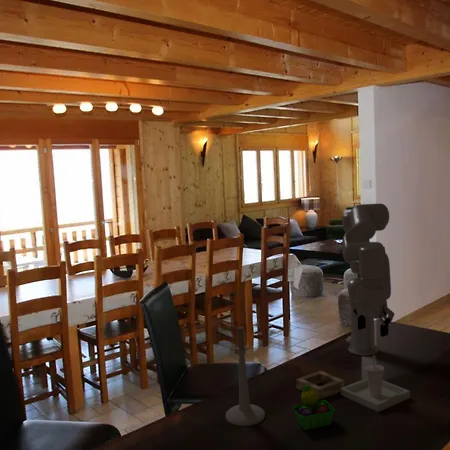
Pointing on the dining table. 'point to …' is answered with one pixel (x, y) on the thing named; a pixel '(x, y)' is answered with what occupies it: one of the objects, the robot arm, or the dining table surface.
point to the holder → (318, 377)
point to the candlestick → (244, 393)
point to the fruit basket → (313, 410)
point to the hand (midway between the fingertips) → (372, 332)
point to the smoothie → (375, 378)
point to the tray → (388, 397)
